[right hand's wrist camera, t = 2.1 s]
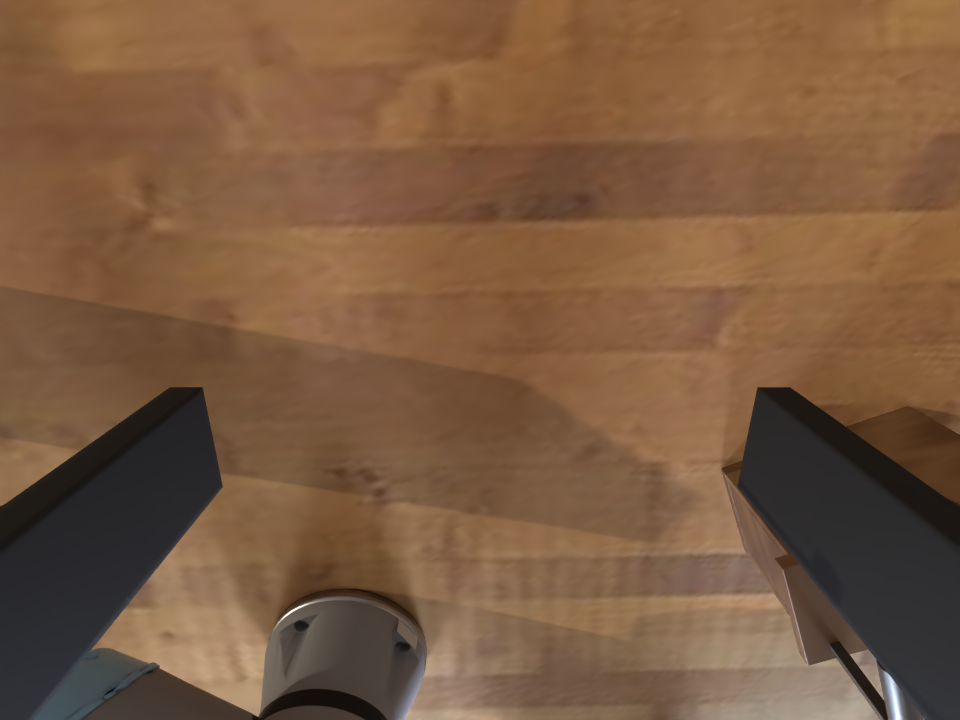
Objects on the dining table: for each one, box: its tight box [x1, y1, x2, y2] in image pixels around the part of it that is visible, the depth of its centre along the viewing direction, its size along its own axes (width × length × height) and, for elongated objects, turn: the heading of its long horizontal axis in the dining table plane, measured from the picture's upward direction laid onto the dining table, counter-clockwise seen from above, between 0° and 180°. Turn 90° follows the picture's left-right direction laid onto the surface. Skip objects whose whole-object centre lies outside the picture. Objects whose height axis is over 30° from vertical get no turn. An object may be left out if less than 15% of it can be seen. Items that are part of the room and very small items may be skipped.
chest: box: [721, 407, 960, 616], centre depth 39 cm, size 15×9×10 cm, turn 113°
